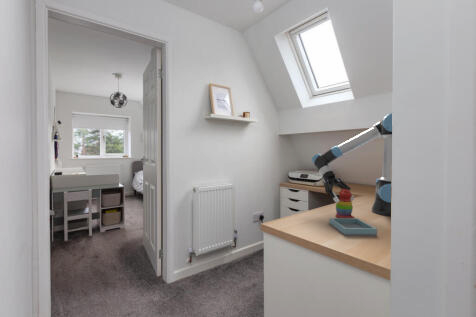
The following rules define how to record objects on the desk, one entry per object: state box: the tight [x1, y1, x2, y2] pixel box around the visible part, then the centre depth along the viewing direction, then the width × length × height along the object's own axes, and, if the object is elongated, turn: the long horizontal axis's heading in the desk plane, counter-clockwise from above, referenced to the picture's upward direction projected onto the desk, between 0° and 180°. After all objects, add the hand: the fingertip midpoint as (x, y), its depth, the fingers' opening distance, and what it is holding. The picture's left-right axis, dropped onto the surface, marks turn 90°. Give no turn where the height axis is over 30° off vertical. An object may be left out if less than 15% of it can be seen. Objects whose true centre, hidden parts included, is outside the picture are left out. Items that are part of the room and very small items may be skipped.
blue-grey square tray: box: [328, 217, 378, 237], centre depth 121 cm, size 16×17×4 cm
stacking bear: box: [335, 188, 356, 218], centre depth 141 cm, size 11×10×18 cm
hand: (345, 201), depth 141 cm, fingers open, 13 cm apart
